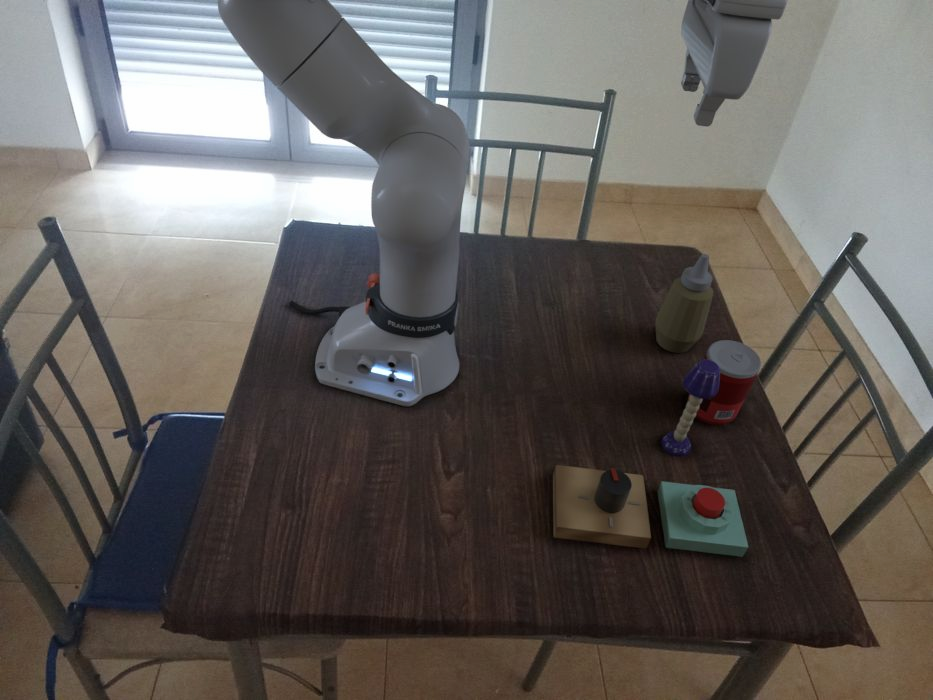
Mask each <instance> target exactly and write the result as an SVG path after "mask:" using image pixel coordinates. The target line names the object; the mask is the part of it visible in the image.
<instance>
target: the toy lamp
mask: <svg viewBox="0 0 933 700" xmlns="http://www.w3.org/2000/svg"><path fill="white" fill-rule="evenodd" d="M703 359H704V358H703ZM703 359H701V360H699V361H698V362H697V363H695V364H694V365H693V367H692V368H691V369H690V370H689V371H688V372H687V374H686V375H685V376H684V378H683V387H684V390H685V391H686V392H687V393H688V395H689V394H691V395H690V397H689V401H688V400H687V402H686V404H685V408H684V409H683V411H682V415H681V416H680V418H679V422H678V423H677V425H676V429H675V430H673V431H669V432H668V433H666V434H665V435H664V436H663V437H662V439H661V443H660V444H661V447H662V449H663V450H664V451H665V452H666V453H668V454H669V455H671V456H673V457H676V458H677V457H678V458H682V457H686V456H687V455H689V454H690V452H691V448H692V444H691V441H690V439H689V437H688V433H689V431H690V429H691V427H692V425H693V424H694V419H695V418H696V417H695V416H696V412H697V411H698V409H699V406H700V404H701V402H702V400H703V399H710V398H713V397H714V396H715V395H716V394H717V393H718V390H719V380H720V368H719V366H718V365H717V364H716V363H715V362H714V361H712V360H708V359H704V360H703Z"/></svg>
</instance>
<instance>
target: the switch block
mask: <svg viewBox="0 0 933 700" xmlns="http://www.w3.org/2000/svg"><path fill="white" fill-rule="evenodd" d="M702 488H712V489H715V490H717V491H718V492H720V493H721V494H722V496H723V497H724V499H725V506H724V508H723V510H722V511H721V513H720V515H719V516H718V517H716V518H706V517H703V516H701V515H700V514H698V513H697V512H696V510H695V509H694V506H693V501H694V498H695V496H696V494H697V492H698V491H699V490H700V489H702ZM657 497H658V504H659V505H658V506H659V512H660V519H661V526H662V532H663V533H662V534H663V540H664V547H665V549H666V548H667V549H676V550H681V551H683V550H684V551H691V552H701V553H706V554H707V553H708V554H715V555H723V556H732V557H741V558H743V557H744V555H745V554H746V552H747V551H748V549H749V543H748V540H747V535H746V531H745V527H744V522H743V518H742V515H741V511H740V507H739V503H738V498H737V495H736V490H735V489H731V488H730V489H729V488H722V487H713V486H710V485H704V484H703V485H702V484H688V483H679V482H671V481H664V480H663V481H662V480H661V481H660V484H659V486H658V489H657Z"/></svg>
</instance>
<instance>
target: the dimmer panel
mask: <svg viewBox="0 0 933 700" xmlns="http://www.w3.org/2000/svg"><path fill="white" fill-rule="evenodd" d="M605 471H606V470H604V469H603V470H602V469H594V468H593V469H592V468H585V467H578V466H568V465H560V464H556V465H555V466H554V471H553V475H552V509H553V510H552V511H553V512H552V513H553V515H552V518H553V519H552V521H553V523H552V524H553V529H552V530H553V531H552V532H553V538H556V539H564V540H572V541H579V542H580V541H581V542H589V543H597V544H605V545H614V546H621V547H629V548H630V547H632V548H638V549H647V548H648V545H649V544H650V541H651V540H652V533H651V527H650V526H651V525H650V519H649V518H650V517H649V510H648V503H647V495H646V494H647V493H646V488H645V479H644V475H643V474H636V473H627V472H624V473H625V474H626V475H627V476H628V477H629V478H630V480H631V483H632V487H631V490H630V493H629V495H628V498H627V500H626V503H625V505H624V508H623V509H622V510H621V511H619V512H617V513H608V512H605V511H603V510H601V509H600V508H599V507H598V506H597V504H596V503H595V499H594V496H595V493H596V490H597V487H598V484H599V481H600V478H601V475H602V474H603V473H604V472H605Z"/></svg>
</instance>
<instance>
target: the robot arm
mask: <svg viewBox="0 0 933 700" xmlns="http://www.w3.org/2000/svg"><path fill="white" fill-rule="evenodd" d="M787 4H788V0H687V3H686V7H685V9H684V13H683V16H682V20H681V26H680V35H681V37H682V39H683V42H684V44H685V46H686V52H685V58H684V59H685V60H684V68H683V74H682V78H681V81H680V84H681V87H682V90H683V91H685V92H691V93H695V92H697V91H698V89H699V85H700V83H701V84H702V87H703V89H702V94H703V95H702V96H701V100H700V102H699V103H697V104H696V106H695V110H694V113H693V120H694V123H695V125H696V126H698V127H700V126H701V127H710V126H712V124H713V122H714V119H715V116H716V113H717V111H718V110H719V108H721V106H722V105H723V103H724V102H725V100H735V101H736V100H738V101H739V100H740V99H741V98H743V96H744V95H745V94H746V92H747V91H748V90H749V88H750V86H751V84H752V82H753V79H754V77H755V74H756V72H757V70H758V68H759V65H760V63H761V60H762V58H763V55H764V52H765V50H766V48H767V45H768V42H769V39H770V36H771V33H772V26H773V21H772V20H780V19H781V18H782V17H783V15H784V12H785V9H786V7H787ZM217 9H218V14H219V16H220V19H221V21H222V22H223V24H224V25H225V27H226V28H227V30H228V31H229V33H230V34H231V36H232V37H233V38H234V40H235V41H236V42H237V44H238V45H239V47H240V48H241V49H242V50H243V52H244V53H245V54H246V56H248V58H249V59H250V60H251V61H252V63H253V64H254V66H256V68H258V70H260V72H261V73H262V74H263V75H264V77H265V78H267V79H268V80H269V81H270V82H271V84H272V85H273V86H274V87H276V89H277V90H279V92H280V93H281V94H282V95H283V96H284V97H285V98H287V100H289V102H290V103H291V104H292V105H293V106H294V107H295V108H296V109H297V110H298V111H299V112H300V113H301V114H302V115H303V116H304V117H305V118H306V119H307V120H308V121H309V122H310V123H311V124H312V125H313V126H314V127H315V128H316V129H317V130H318V131H319V132H320V133H321V134H322V135H324V136H326V138H327V137H328V138H329V139H333V140H342V141H345V142H348V143H349V144H351V145H354V146H355V147H357V148H358V149H360V150H361V151H363V152H365V153H366V154H368V155H369V156H370V157H371V158H372V159H373V160H374V161H375V162H376V163H377V165H378V169H377V171H376V173H375V176H374V179H373V181H372V184H371V197H370V200H371V201H370V203H371V204H370V206H371V207H370V210H371V211H370V212H371V219H372V224H373V226H374V228H375V232H376V235H377V241H378V247H379V249H378V250H379V273H376V272H373V273H371V274H370V275H369V276H368V281H367V283H366V286H367V288H368V289H367V291H366V295H365V301H362V302H360V303H358V304H355V305H352V306H326V307H321V308H317V309H309V308H306V307H303V306H302V305H301V304H298V303H296V302H295V301H293V300H291V301H289V304H288V305H289V306H290V307H292V308H294V309H296V310H297V311H298V312H301V313H303V314H306V315H312V316H313V315H314V316H315V315H320V314H326V313H331V312H332V313H333V312H334V313H338V319H337V321H336V323H335V325H334V326H332V327H331V328H330V329H329V330H328V331H327V332H326V333H325V334H324V336H323V337H322V340H321V341H320V344H319V345H318V349H317V351H316V355H315V362H314V364H315V365H314V373H315V376H316V379H317V380H318V382H319V383H320V384H322V385H324V386H328V387H331V388H335V389H339V390H342V391H345V392H349V393H352V394H353V393H354V394H358V395H361V396H365V397H369V398H371V399H376V400H378V401H379V400H380V401H383V402H388V403H391V404H395V405H398V406H401V407H406V408H407V407H412V406H414V405H416V404H417V403H418V402H419V401H421V400H422V399H423V398H425V397H427V396H429V395H433V394H435V393H438V392H440V391H442V390H445V389H446V388H447V387H448V386H450V385H451V384H452V383H453V382H454V381H455V379H456V378H457V376H458V374H459V371H460V365H461V364H460V359H459V355H458V353H457V347H456V339H455V330H456V327H457V324H458V317H459V306H460V305H459V294H458V291H457V285H458V273H459V262H460V252H461V250H460V238H461V237H460V236H461V223H462V211H463V202H464V195H465V190H466V184H467V175H468V169H469V164H470V158H471V145H470V141H469V135H468V132H467V129H466V126H465V123H464V122H463V120H462V118H461V117H460V116H459V115H458V114H457V112H455V111H454V110H453V109H452V108H450V107H448V106H446V105H443V104H440V103H435V102H433V101H431V99H429V98H427V97H426V96H425V95H423V93H421V92H420V91H418V90H417V89H415V88H414V87H413V86H411V85H410V84H409V83H408V82H406V81H405V80H404V79H402V78H401V77H400V76H399V75H397V73H395V72H394V71H393V70H392V68H390V67H389V66H388V65H387V64H386V63H385V62H384V60H382V59H381V58H380V56H379V55H378V54H377V53H376V52H375V51H374V50H373V48H372V47H371V46H370V45H369V44H368V43H367V41H365V40H364V39H363V37H362V36H360V34H359V33H358V32H357V31H356V30H355V29H354V28H353V27H352V25H351V24H350V23H349V22H348V21H347V19H345V18H344V17H343V15H342V14H341V13H340V12H339V11H338V9H336V7H335V6H333V4H332V3H331V2H330V1H329V0H217Z"/></svg>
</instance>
